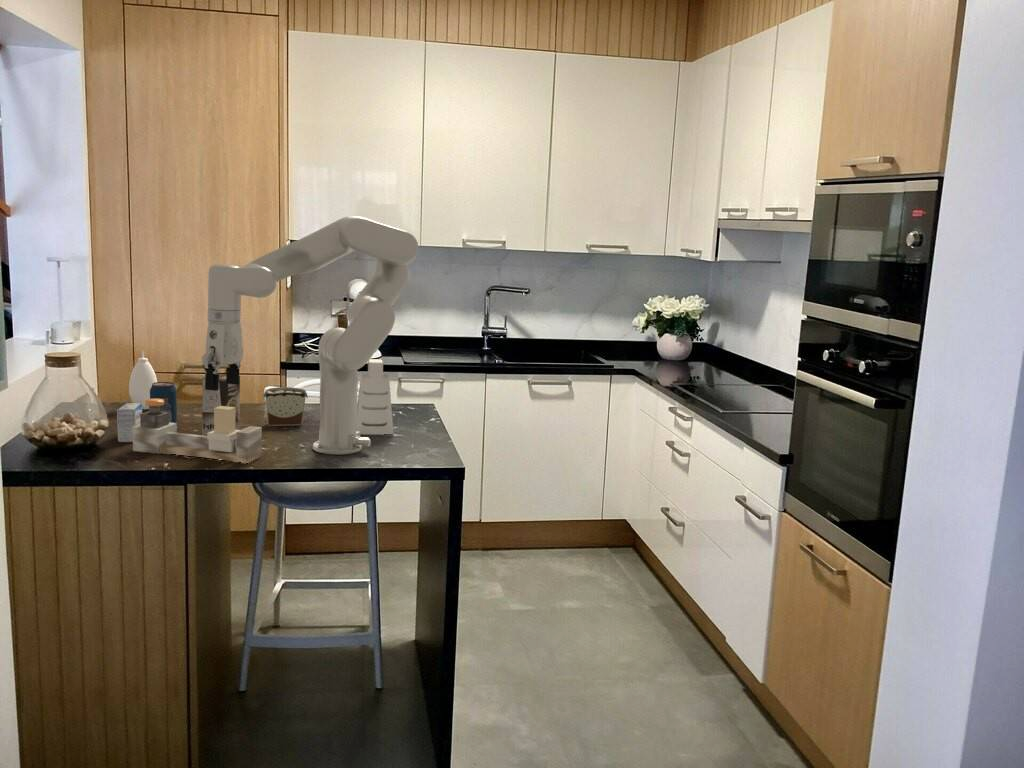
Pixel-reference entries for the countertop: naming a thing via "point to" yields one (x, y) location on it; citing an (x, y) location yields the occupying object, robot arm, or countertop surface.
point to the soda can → (166, 398)
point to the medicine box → (128, 420)
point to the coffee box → (220, 403)
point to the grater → (374, 401)
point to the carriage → (223, 430)
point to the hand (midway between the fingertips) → (222, 386)
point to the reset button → (154, 405)
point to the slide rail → (191, 440)
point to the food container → (285, 405)
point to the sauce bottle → (141, 381)
